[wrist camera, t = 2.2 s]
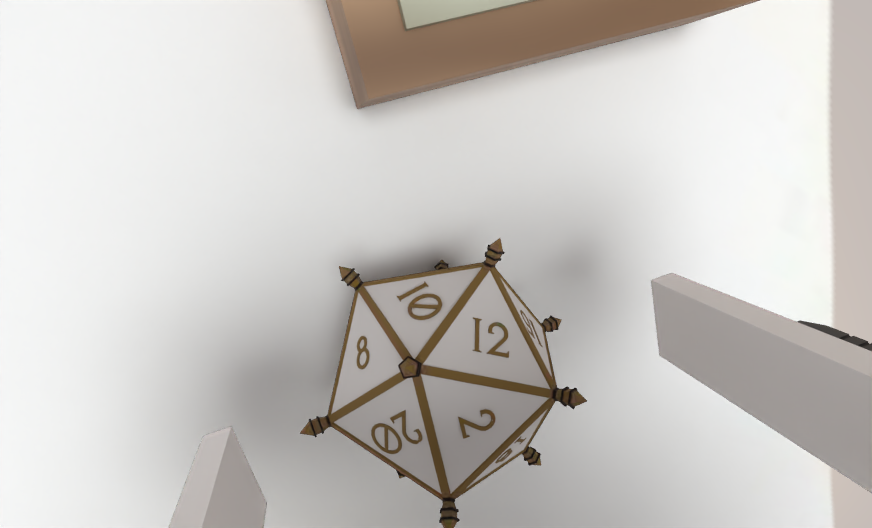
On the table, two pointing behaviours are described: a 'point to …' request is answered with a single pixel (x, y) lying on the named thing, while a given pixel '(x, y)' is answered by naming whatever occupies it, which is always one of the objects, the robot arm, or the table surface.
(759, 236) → the table surface
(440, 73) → the framed mirror
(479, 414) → the game die
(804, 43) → the table surface
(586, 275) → the table surface
